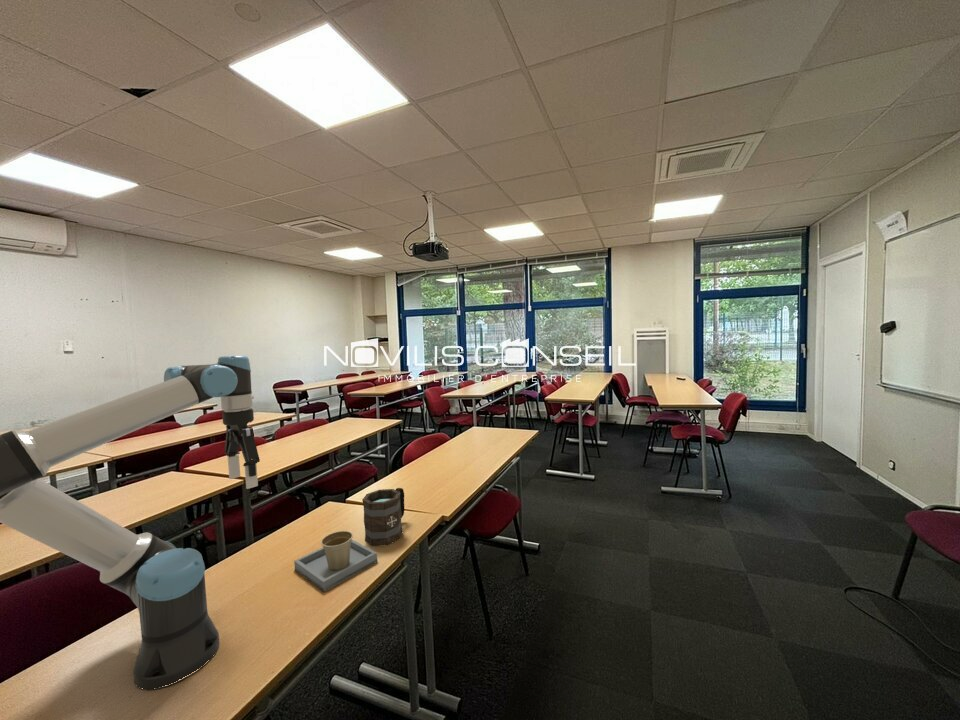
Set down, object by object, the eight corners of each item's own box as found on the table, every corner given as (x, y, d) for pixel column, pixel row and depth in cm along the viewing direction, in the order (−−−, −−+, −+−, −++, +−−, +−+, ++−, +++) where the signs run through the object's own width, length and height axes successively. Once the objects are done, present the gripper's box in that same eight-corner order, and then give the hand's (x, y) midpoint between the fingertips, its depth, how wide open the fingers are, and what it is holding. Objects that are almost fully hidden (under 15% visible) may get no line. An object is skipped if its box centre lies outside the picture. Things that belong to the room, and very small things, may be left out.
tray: (324, 592, 107) (323, 581, 107) (294, 570, 119) (294, 560, 119) (377, 561, 121) (376, 552, 121) (346, 544, 133) (346, 536, 133)
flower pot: (315, 569, 117) (314, 542, 116) (340, 553, 125) (338, 528, 125) (337, 577, 112) (335, 549, 112) (360, 560, 121) (359, 534, 120)
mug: (388, 549, 128) (385, 506, 128) (356, 542, 134) (353, 501, 133) (419, 522, 146) (416, 484, 146) (390, 518, 152) (388, 481, 151)
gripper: (269, 410, 103) (274, 487, 104) (237, 404, 119) (242, 470, 120) (238, 415, 97) (244, 496, 98) (208, 408, 113) (214, 477, 114)
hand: (243, 482), depth 109 cm, fingers open, 13 cm apart
